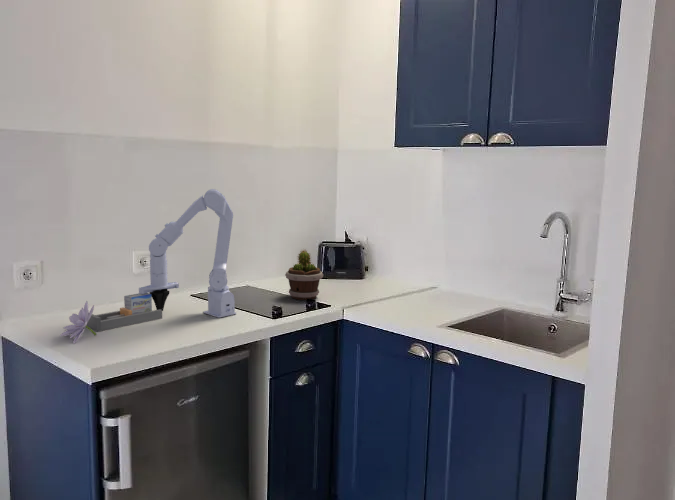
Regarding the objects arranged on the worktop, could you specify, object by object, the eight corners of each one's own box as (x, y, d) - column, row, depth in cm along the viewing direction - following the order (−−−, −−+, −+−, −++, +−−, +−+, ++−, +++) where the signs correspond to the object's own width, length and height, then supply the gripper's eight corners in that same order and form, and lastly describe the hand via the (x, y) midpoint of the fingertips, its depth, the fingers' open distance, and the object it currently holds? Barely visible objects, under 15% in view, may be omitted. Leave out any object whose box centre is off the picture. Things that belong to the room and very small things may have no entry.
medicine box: (131, 322, 200) (130, 297, 198) (124, 320, 202) (123, 295, 201) (152, 318, 205) (151, 293, 204) (145, 316, 208) (144, 291, 207)
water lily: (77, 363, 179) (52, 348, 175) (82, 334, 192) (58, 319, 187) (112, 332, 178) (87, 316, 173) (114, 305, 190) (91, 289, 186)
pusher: (132, 322, 199) (131, 310, 198) (111, 326, 194) (111, 314, 193) (123, 318, 203) (123, 307, 202) (103, 322, 197) (102, 311, 197)
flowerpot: (322, 302, 234) (323, 251, 231) (283, 301, 234) (283, 250, 231) (323, 293, 248) (324, 246, 245) (286, 293, 248) (287, 245, 245)
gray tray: (162, 318, 205) (162, 305, 205) (97, 331, 189) (96, 318, 188) (148, 313, 211) (148, 301, 211) (84, 326, 194) (83, 312, 194)
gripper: (170, 268, 215) (171, 305, 217) (133, 273, 205) (135, 312, 207) (181, 271, 211) (182, 308, 213) (144, 276, 200) (145, 316, 202)
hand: (159, 310), depth 209 cm, fingers closed
